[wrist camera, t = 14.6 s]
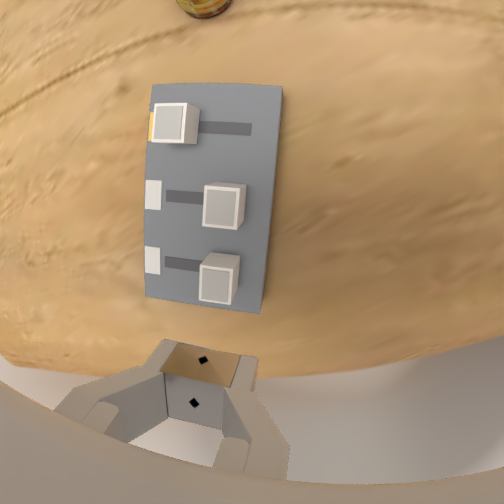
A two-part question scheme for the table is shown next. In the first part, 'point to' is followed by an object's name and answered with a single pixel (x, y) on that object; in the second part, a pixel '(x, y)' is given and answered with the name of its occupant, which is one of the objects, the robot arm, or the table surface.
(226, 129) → the console
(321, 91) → the table surface
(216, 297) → the knob
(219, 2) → the sauce bottle
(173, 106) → the knob
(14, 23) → the table surface
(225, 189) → the knob
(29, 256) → the table surface
